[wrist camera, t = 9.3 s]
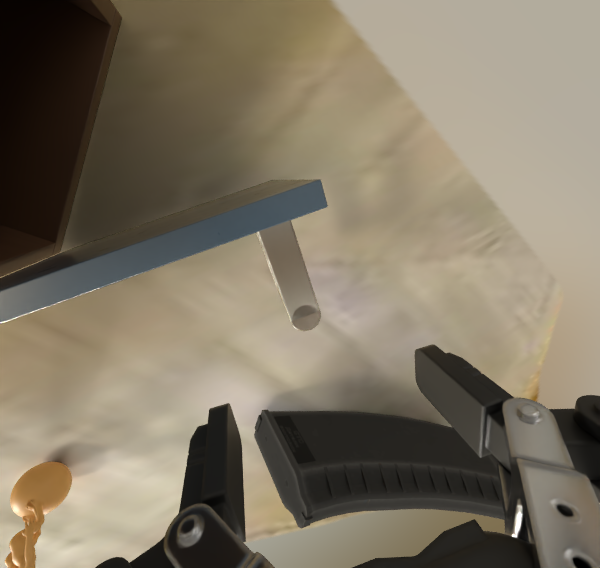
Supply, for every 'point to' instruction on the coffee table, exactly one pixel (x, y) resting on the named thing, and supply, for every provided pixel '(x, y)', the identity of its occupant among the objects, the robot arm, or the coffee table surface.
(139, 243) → the cupboard door
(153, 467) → the coffee table surface
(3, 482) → the coffee table surface
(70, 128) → the cupboard
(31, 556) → the figurine
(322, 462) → the magazine
